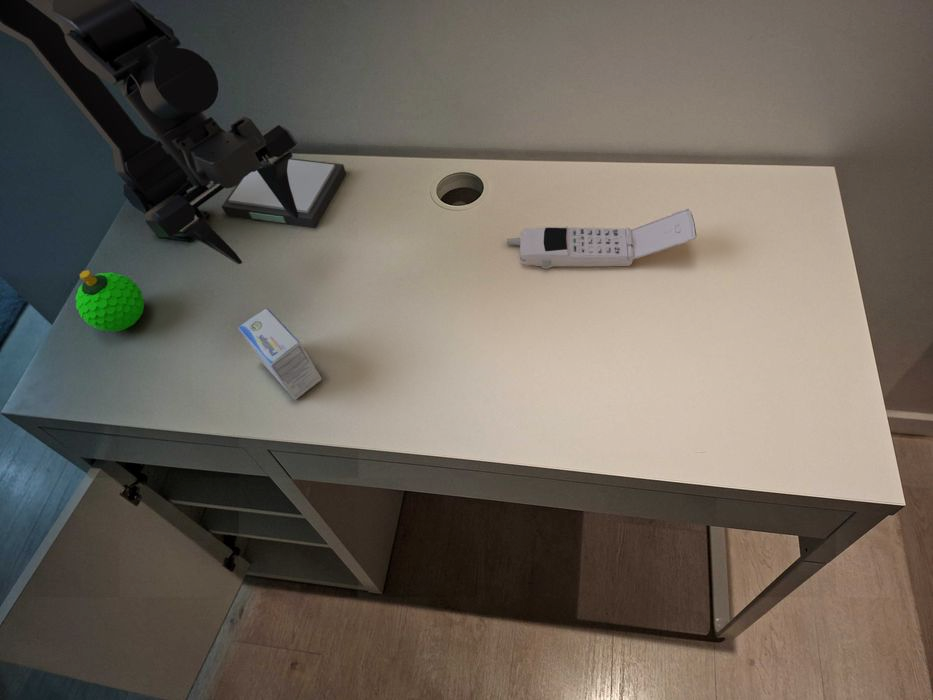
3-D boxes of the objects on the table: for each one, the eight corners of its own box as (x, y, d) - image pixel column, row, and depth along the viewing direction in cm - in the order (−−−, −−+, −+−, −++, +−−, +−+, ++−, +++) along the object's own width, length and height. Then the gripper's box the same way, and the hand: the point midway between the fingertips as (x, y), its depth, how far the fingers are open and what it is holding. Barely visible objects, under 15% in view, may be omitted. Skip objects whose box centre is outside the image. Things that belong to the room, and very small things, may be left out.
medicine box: (323, 380, 77) (301, 342, 70) (294, 402, 75) (269, 365, 68) (290, 345, 80) (267, 305, 73) (262, 365, 79) (236, 326, 72)
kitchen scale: (225, 216, 96) (219, 204, 94) (262, 163, 103) (256, 151, 101) (314, 229, 93) (309, 216, 91) (346, 173, 100) (342, 161, 98)
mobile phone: (698, 239, 77) (504, 239, 79) (688, 270, 82) (506, 270, 84) (692, 207, 80) (506, 209, 83) (682, 239, 85) (507, 239, 88)
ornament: (88, 325, 86) (41, 279, 78) (136, 289, 89) (96, 242, 81) (118, 352, 82) (72, 308, 74) (166, 314, 86) (127, 268, 77)
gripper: (121, 164, 55) (232, 294, 63) (272, 66, 63) (354, 193, 71) (100, 173, 64) (201, 286, 72) (235, 85, 71) (312, 197, 79)
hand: (269, 240), depth 73 cm, fingers open, 9 cm apart
